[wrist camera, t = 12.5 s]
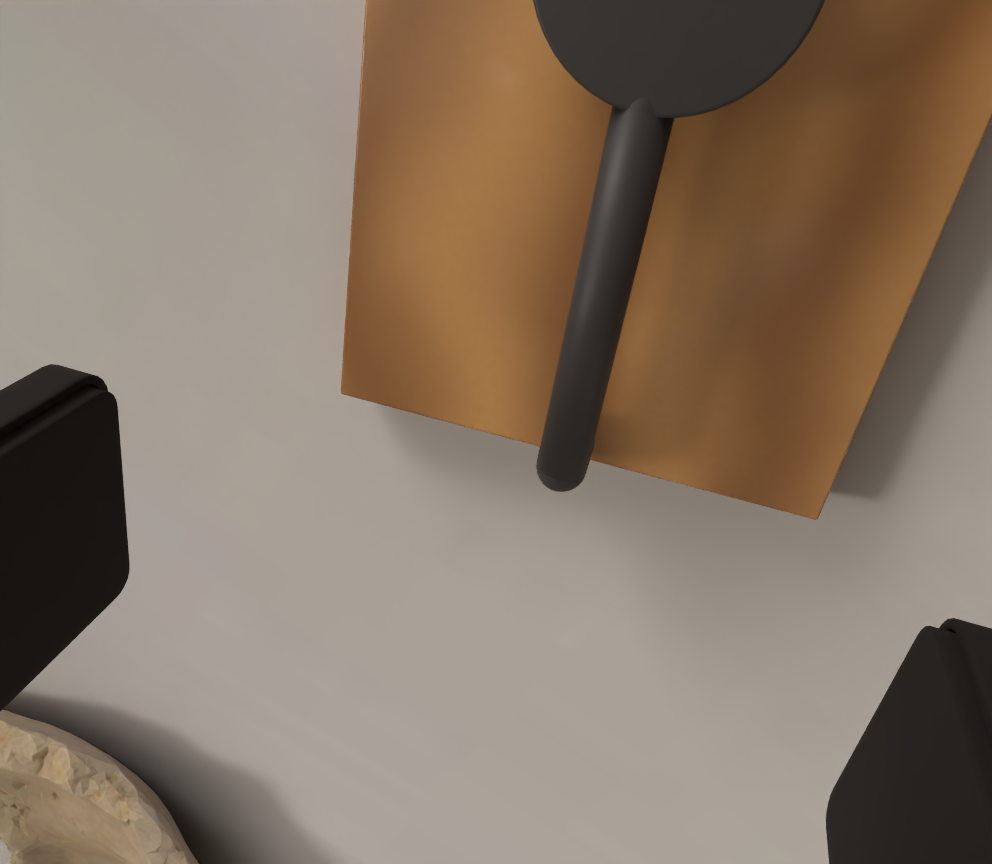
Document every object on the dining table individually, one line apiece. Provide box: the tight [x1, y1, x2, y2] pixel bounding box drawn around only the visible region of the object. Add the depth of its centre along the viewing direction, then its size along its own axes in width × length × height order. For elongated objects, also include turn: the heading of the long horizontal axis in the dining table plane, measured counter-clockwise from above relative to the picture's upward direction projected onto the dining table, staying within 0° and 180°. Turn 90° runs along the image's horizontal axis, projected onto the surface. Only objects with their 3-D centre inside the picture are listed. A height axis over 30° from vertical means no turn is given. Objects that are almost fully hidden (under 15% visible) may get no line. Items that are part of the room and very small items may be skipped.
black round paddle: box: [533, 0, 825, 492], centre depth 19 cm, size 15×6×3 cm, turn 172°
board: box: [341, 0, 992, 519], centre depth 21 cm, size 14×16×2 cm
